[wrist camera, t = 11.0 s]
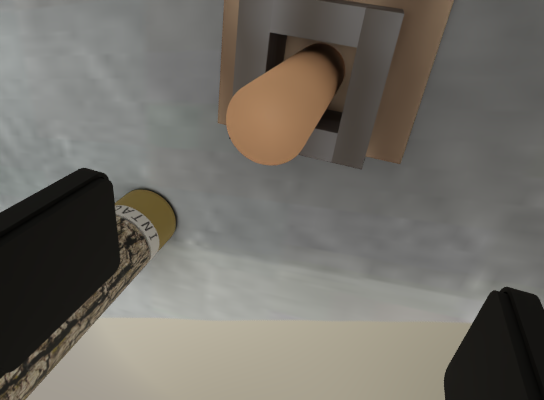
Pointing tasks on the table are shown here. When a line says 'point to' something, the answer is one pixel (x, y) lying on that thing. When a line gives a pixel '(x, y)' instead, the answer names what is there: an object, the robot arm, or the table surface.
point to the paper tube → (133, 258)
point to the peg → (284, 105)
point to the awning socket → (357, 58)
